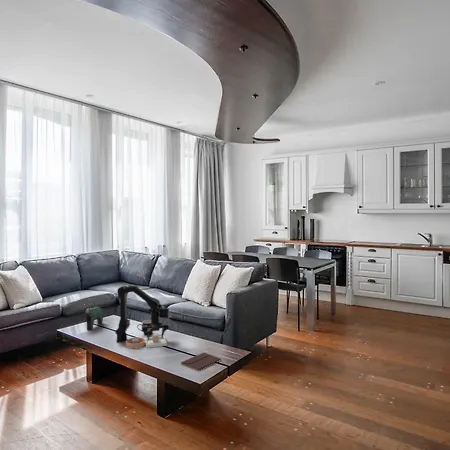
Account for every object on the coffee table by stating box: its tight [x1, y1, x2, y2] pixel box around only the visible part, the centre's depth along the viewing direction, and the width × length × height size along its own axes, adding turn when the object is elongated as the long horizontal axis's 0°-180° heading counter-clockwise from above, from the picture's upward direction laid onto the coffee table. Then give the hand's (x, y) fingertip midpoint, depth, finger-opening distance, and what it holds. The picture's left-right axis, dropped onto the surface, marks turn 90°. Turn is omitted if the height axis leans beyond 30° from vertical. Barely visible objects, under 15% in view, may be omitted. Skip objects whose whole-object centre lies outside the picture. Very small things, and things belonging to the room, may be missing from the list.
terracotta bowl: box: [125, 336, 146, 349], centre depth 253 cm, size 13×13×4 cm
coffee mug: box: [136, 319, 154, 336], centre depth 275 cm, size 12×9×10 cm
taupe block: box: [151, 333, 159, 342], centre depth 260 cm, size 4×5×4 cm
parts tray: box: [144, 335, 168, 348], centre depth 257 cm, size 14×15×2 cm
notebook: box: [180, 352, 222, 372], centre depth 225 cm, size 15×20×2 cm
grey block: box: [132, 337, 139, 344], centre depth 251 cm, size 4×5×4 cm
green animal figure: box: [84, 302, 104, 331], centre depth 295 cm, size 20×6×20 cm, turn 167°
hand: (155, 339), depth 260 cm, fingers open, 9 cm apart
